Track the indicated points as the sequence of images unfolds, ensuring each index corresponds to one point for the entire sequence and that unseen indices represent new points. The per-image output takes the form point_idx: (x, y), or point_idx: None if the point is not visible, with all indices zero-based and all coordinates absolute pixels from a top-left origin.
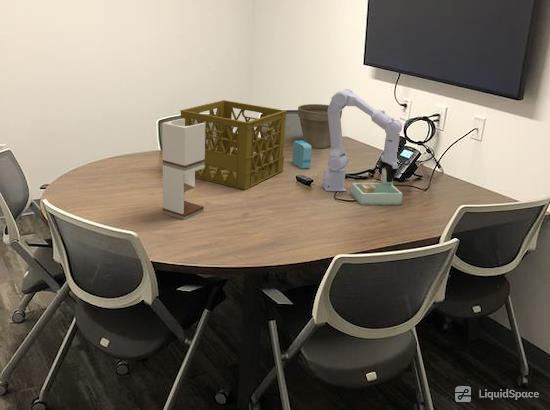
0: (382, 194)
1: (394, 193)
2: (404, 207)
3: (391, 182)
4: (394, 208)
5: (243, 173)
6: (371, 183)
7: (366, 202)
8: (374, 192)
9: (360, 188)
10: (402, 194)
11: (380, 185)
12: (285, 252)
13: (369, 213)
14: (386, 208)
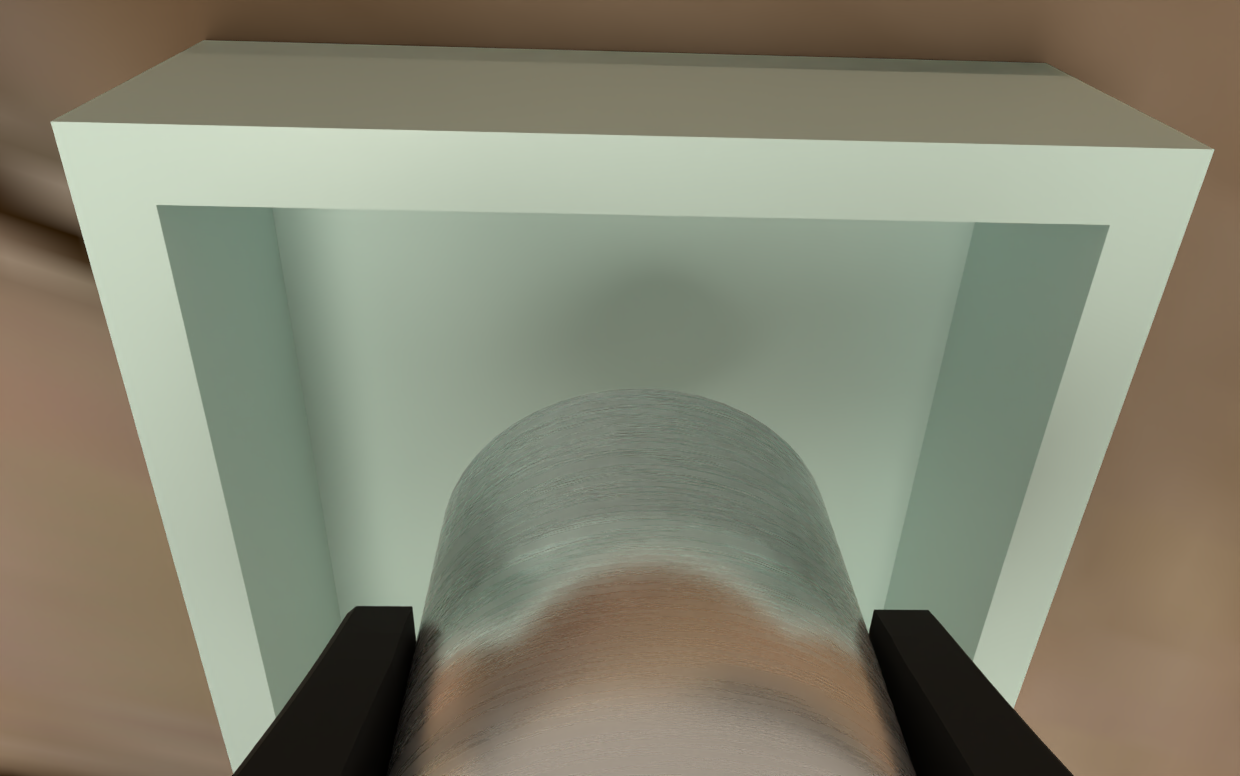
0: (1021, 654)
1: (1105, 398)
2: (1233, 52)
3: (840, 554)
4: (1193, 314)
5: None
6: (236, 669)
7: None
8: None
9: None
10: (1194, 142)
11: (233, 436)
12: None
13: (1220, 749)
14: (1133, 460)
